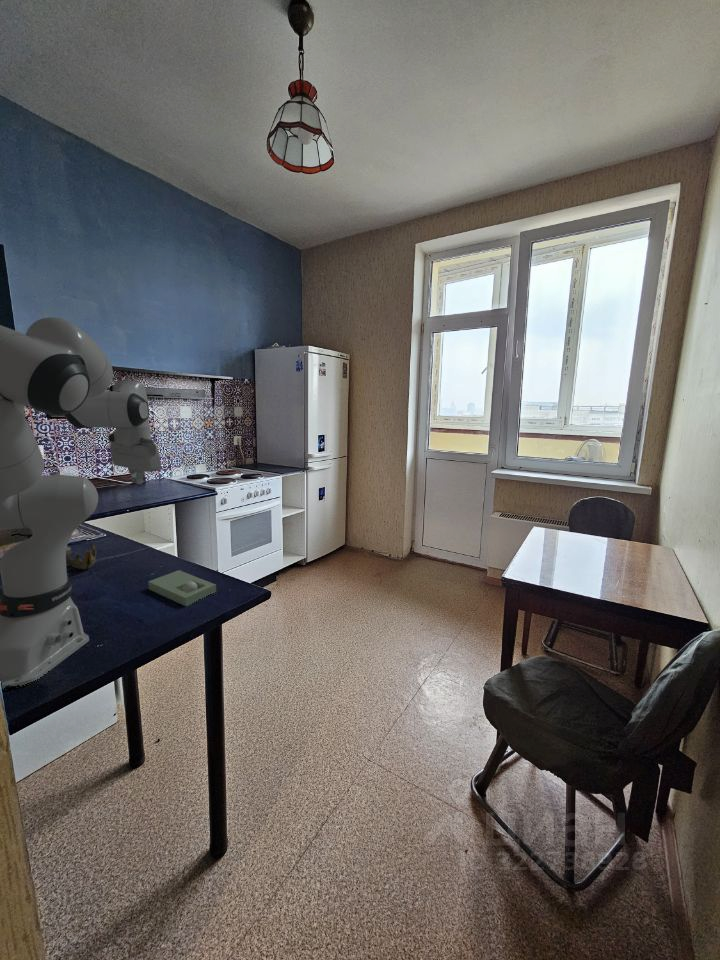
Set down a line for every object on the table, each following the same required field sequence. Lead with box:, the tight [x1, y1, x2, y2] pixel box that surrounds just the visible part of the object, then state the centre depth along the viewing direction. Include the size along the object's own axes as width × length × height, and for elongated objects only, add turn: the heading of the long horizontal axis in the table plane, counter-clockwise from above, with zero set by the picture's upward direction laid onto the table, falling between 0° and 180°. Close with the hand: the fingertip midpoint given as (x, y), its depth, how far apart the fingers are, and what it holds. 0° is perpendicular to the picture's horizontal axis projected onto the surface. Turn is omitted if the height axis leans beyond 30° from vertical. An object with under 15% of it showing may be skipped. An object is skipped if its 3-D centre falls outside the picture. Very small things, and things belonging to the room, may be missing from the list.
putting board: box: [147, 570, 217, 607], centre depth 115 cm, size 18×10×2 cm, turn 59°
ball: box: [183, 581, 197, 593], centre depth 113 cm, size 4×4×4 cm
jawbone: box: [66, 542, 97, 570], centre depth 129 cm, size 9×15×10 cm
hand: (137, 483), depth 116 cm, fingers closed
